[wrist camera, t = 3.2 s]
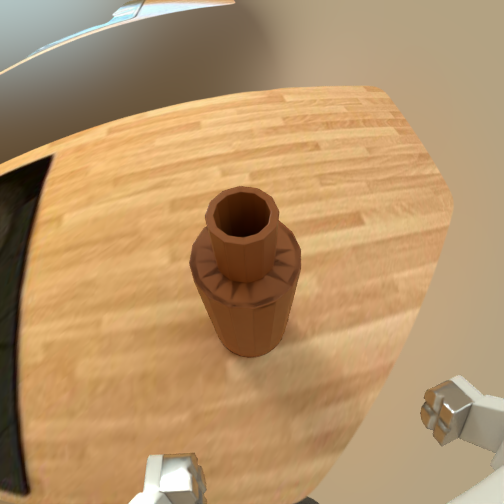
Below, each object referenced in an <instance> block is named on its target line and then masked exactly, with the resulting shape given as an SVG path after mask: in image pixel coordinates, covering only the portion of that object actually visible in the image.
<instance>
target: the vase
mask: <svg viewBox="0 0 504 504" xmlns="http://www.w3.org/2000/svg"><path fill="white" fill-rule="evenodd" d="M205 220H206V224H207V226H206V227H205V228H204V229H203V230H202V231H201V233H200V234H199V236H198V237H197V239H196V240H195V242H194V243H193V245H192V251H191V256H190V262H189V263H190V268H191V272H192V275H193V279H194V282H195V285H196V287H197V289H198V292H199V294H200V296H201V299H202V301H203V303H204V305H205V308H206V310H207V312H208V314H209V317H210V319H211V321H212V323H213V326H214V328H215V330H216V332H217V334H218V337H219V339H220V340H221V341H222V343H223V344H224V345H225V346H226V347H227V348H228V349H229V350H230V351H231V352H233V353H235V354H237V355H240V356H244V357H257V356H261V355H264V354H266V353H268V352H270V351H271V350H272V349H274V348H275V347H276V346H277V345H278V343H279V342H280V340H281V338H282V336H283V334H284V332H285V328H286V325H287V321H288V317H289V313H290V310H291V306H292V302H293V298H294V294H295V290H296V286H297V282H298V278H299V274H300V270H301V249H300V247H299V245H298V243H297V241H296V238H295V236H294V234H293V233H292V231H291V230H289V229H288V228H287V227H286V226H285V225H284V224H282V223H281V222H280V221H279V210H278V208H277V206H276V204H275V202H274V200H273V198H272V197H271V196H269V195H268V194H266V193H265V192H263V191H261V190H260V189H258V188H251V187H243V186H239V187H235V188H231V189H228V190H224V191H222V192H221V193H220V194H219V195H217V196H216V197H215V198H214V199H213V200H211V201H210V203H209V206H208V209H207V211H206V214H205Z"/></svg>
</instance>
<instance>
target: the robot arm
mask: <svg viewBox="0 0 504 504" xmlns="http://www.w3.org/2000/svg"><path fill="white" fill-rule="evenodd" d="M424 399H425V400H426V402H425V403H424V405H423V406H422V408H421V412H420V414H421V419H422V422H423V424H424V425H425V427H426V428H427V429H430V430H433V437H434V438H435V439H436V440H437V441H438V443H439V444H440V445H441V446H444V445H446V444H447V443H449V442H451V441H453V440H455V439H456V438H460V439H462V440H464V441H467V442H469V443H472V444H474V445H477V446H479V447H482V448H484V449H487V450H489V451H492V452H494V453H496V454H495V456H494V458H493V460H492V461H491V467H493V469H494V470H495V472H493V473H492V474H490V475H489V476H488V477H486V478H485V479H483V480H482V481H481V482H479V483H478V484H476V485H475V486H473V487H472V488H470V489H469V490H467V491H466V492H464V493H463V494H461V495H460V496H458V497H456V498H455V499H453V500H451V501H450V502H448V503H446V504H504V398H499V397H495V396H490V395H486V396H484V395H482V394H481V393H480V392H479V391H478V390H477V389H476V388H475V387H474V386H472V385H471V384H470V383H469V382H468V381H467V380H466V379H465V378H463V377H462V376H460V375H457V376H455V377H453V378H451V379H449V380H448V381H445V382H443V383H441V384H439V385H437V386H435V387H432V388H430V389H428V390H427V391H426V392H425V395H424ZM205 491H206V480H205V475H204V472H203V469H202V467H201V466H200V465H198V458H197V457H196V455H195V453H184V454H164V455H149V457H148V459H147V466H146V473H145V480H144V488H143V493H138V494H137V495H136V496H135V497H134V498H133V499H132V500H131V501H130V502H129V503H128V504H207V499H206V497H205V496H204V493H205Z"/></svg>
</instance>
